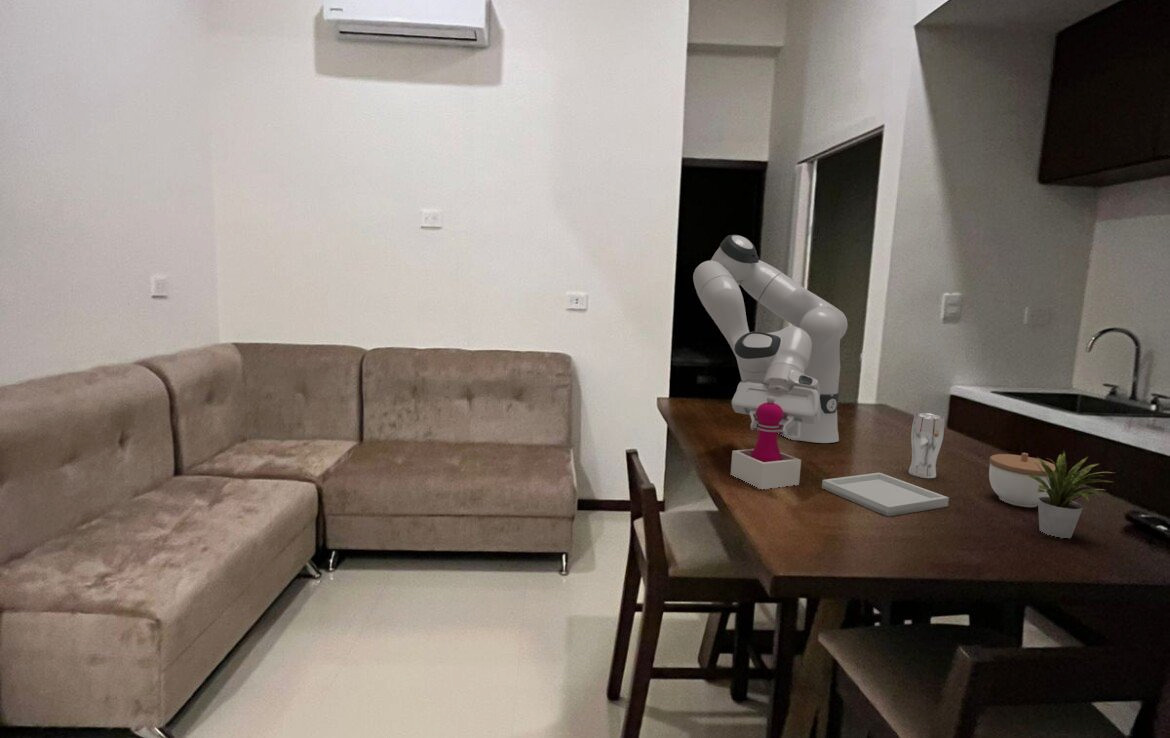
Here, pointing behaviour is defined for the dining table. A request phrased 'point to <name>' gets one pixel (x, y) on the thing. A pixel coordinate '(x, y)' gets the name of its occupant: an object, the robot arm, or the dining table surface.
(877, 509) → the tray
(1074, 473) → the house plant
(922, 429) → the beer glass
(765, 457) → the pepper mill
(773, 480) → the open rectangular box
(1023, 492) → the lidded bowl
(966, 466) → the dining table surface
